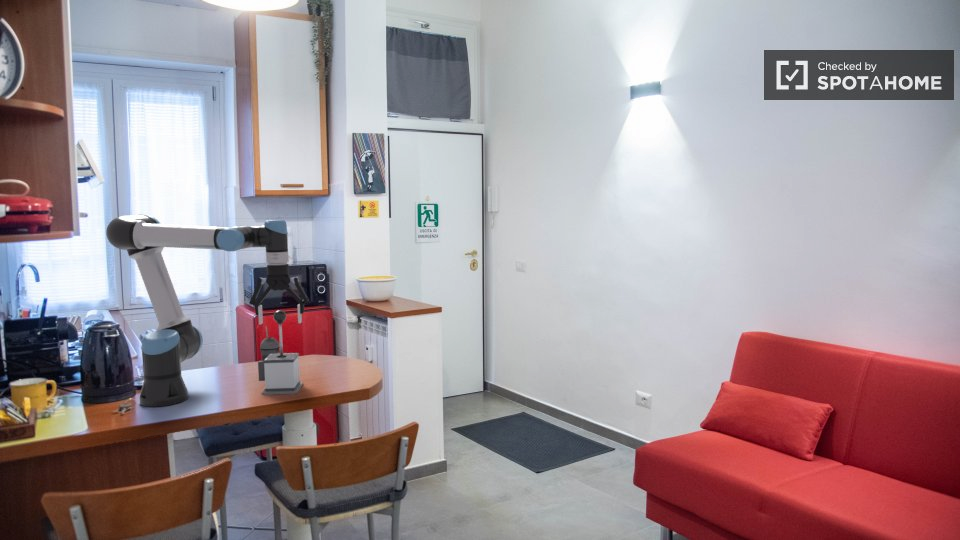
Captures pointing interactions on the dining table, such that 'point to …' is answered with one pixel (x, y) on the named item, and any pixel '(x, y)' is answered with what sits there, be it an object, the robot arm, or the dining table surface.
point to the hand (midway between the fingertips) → (280, 323)
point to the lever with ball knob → (280, 327)
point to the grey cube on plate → (280, 374)
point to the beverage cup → (269, 346)
